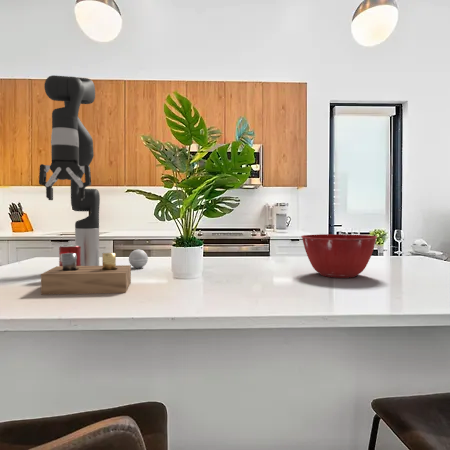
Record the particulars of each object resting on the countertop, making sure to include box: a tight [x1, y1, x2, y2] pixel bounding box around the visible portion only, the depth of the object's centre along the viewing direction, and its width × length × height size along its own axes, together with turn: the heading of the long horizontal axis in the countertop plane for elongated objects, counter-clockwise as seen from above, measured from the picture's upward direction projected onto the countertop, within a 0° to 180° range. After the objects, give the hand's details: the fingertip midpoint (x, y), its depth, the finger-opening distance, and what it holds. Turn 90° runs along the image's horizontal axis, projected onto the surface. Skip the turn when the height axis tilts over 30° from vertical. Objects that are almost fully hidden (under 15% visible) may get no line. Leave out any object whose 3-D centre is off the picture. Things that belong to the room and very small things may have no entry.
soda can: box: [58, 244, 81, 266], centre depth 139 cm, size 7×7×12 cm
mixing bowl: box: [301, 233, 378, 279], centre depth 152 cm, size 28×28×16 cm
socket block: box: [40, 264, 132, 296], centre depth 123 cm, size 16×24×6 cm, turn 98°
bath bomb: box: [128, 248, 149, 269], centre depth 167 cm, size 8×8×8 cm
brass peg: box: [101, 252, 117, 270], centre depth 124 cm, size 4×4×6 cm
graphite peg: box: [62, 253, 76, 271], centre depth 122 cm, size 4×4×6 cm
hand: (65, 200), depth 116 cm, fingers open, 8 cm apart
